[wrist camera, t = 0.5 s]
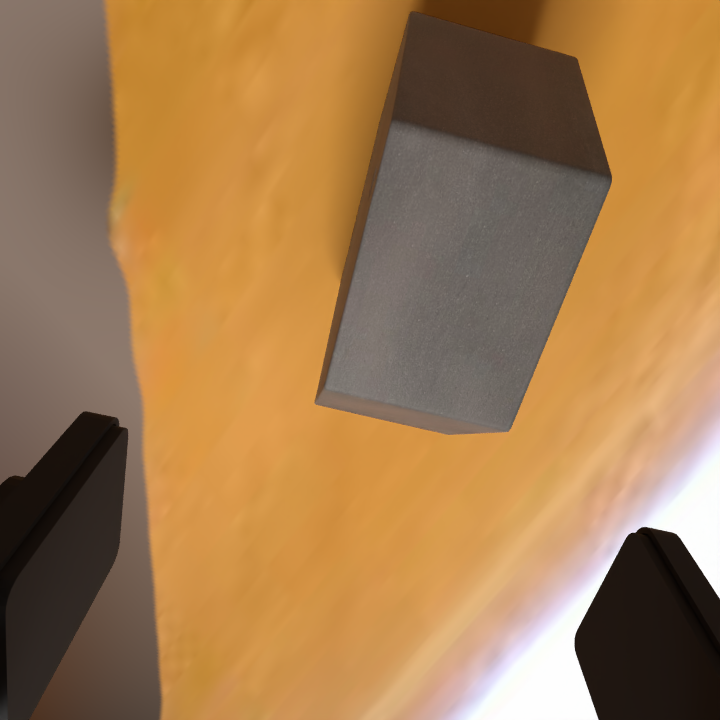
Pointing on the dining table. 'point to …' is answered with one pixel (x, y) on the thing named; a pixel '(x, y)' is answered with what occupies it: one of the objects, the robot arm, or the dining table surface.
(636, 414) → the dining table surface
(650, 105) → the dining table surface
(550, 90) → the planter
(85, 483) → the robot arm
